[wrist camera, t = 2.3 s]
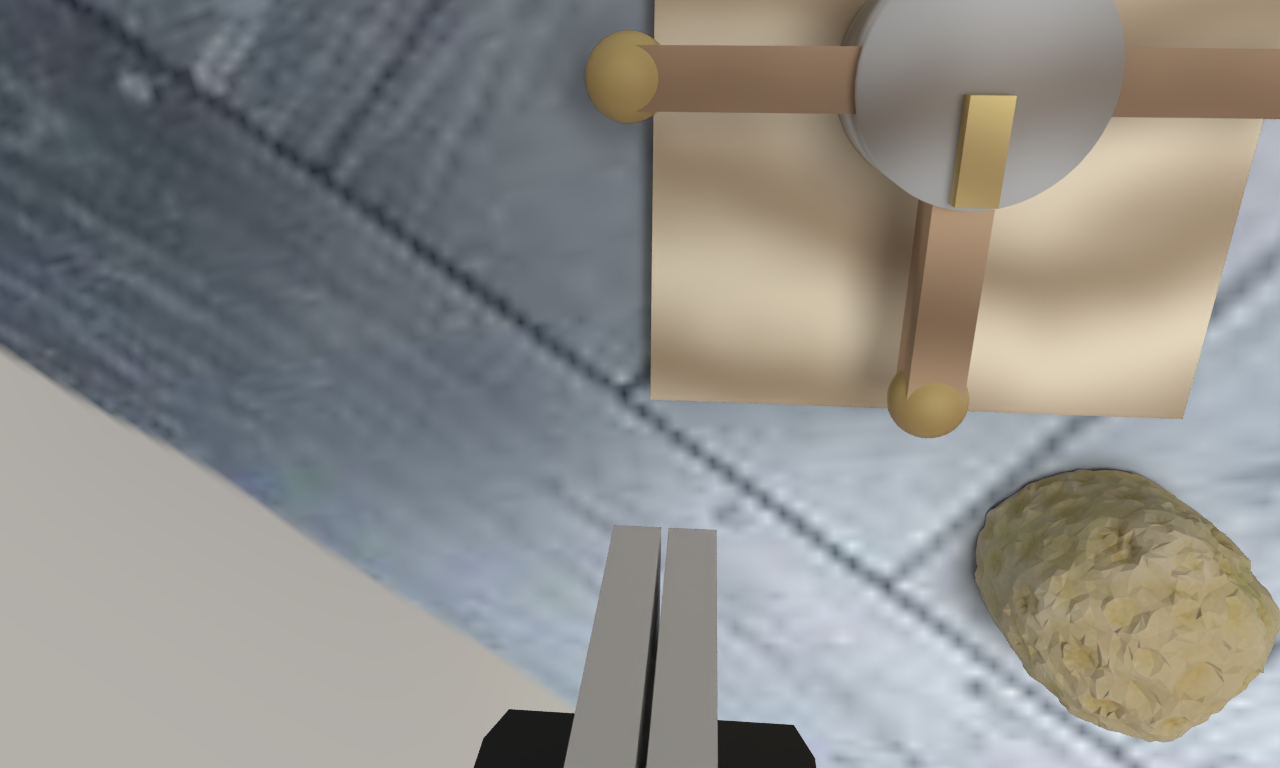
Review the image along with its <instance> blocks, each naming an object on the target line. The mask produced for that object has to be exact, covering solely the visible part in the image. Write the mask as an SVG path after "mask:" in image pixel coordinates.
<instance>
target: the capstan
mask: <svg viewBox="0 0 1280 768" xmlns="http://www.w3.org/2000/svg"><path fill="white" fill-rule="evenodd" d="M585 83H586V88H587V92H588V95H589V97H590V99H591V101H592V102H593V104H594V105H595V107H596V108H597V109H598V110H599V111H600V112H601V113H602V114H604V115H605V116H606V117H608V118H610V119H612V120H614V121H617V122H622V123H636V122H640V121H643V120H646V119H648V118H650V117H651V116H653V115H654V114H656V113H657V112H718V113H804V114H838V116H839V119H840V122H841V125H842V127H843V130H844V132H845V134H846V135H847V137H848V139H849V141H850V143H851V144H852V145H853V147H854V148H855V149H856V151H857V152H858V153H859V154H860V155H861V156H862V157H863V158H864V159H865V160H866V161H867V162H868V163H869V164H871V165H872V166H873V167H875V168H876V169H877V170H878V171H880V172H881V173H882V174H884V175H885V176H886V177H888V178H889V179H890V180H892V181H893V182H894V183H895V184H897V185H898V186H899V187H901V188H902V189H904V190H905V191H906V192H908V193H909V194H911V195H912V196H914V197H916V198H918V199H919V200H918V208H917V216H916V223H915V231H914V239H913V247H912V255H911V263H910V270H909V278H908V286H907V294H906V302H905V309H904V317H903V325H902V333H901V341H900V349H899V356H898V364H897V372H896V375H895V376H894V378H893V379H892V381H891V383H890V385H889V388H888V392H887V406H888V410H889V413H890V415H891V417H892V419H893V420H894V422H895V423H896V424H897V425H898V426H899V427H900V428H901V429H902V430H904V431H905V432H907V433H909V434H911V435H914V436H916V437H921V438H935V437H940V436H943V435H946V434H947V433H949V432H951V431H953V430H954V429H955V428H956V427H957V426H958V425H959V424H960V423H961V422H962V420H963V419H964V417H965V415H966V413H967V410H968V406H969V393H968V388H967V386H966V385H967V379H968V373H969V367H970V361H971V354H972V348H973V342H974V336H975V330H976V324H977V317H978V311H979V305H980V299H981V293H982V287H983V280H984V274H985V268H986V262H987V256H988V250H989V243H990V237H991V231H992V225H993V219H994V213H995V209H1000V208H1004V207H1008V206H1011V205H1014V204H1018V203H1021V202H1023V201H1025V200H1028V199H1030V198H1032V197H1035V196H1036V195H1038V194H1040V193H1042V192H1043V191H1045V190H1047V189H1049V188H1050V187H1052V186H1053V185H1055V184H1056V183H1057V182H1059V181H1060V180H1061V179H1063V178H1064V177H1066V176H1067V175H1068V174H1069V173H1070V172H1071V171H1072V170H1073V169H1074V168H1075V167H1076V166H1078V165H1079V164H1080V162H1081V161H1082V160H1083V159H1084V158H1085V157H1086V156H1087V154H1088V153H1089V152H1090V151H1091V150H1092V148H1093V147H1094V145H1095V144H1096V143H1097V141H1098V140H1099V138H1100V137H1101V135H1102V134H1103V132H1104V130H1105V128H1106V126H1107V124H1108V123H1109V121H1110V119H1111V117H1149V118H1235V119H1280V49H1248V48H1125V42H1124V34H1123V28H1122V24H1121V21H1120V17H1119V13H1118V11H1117V9H1116V6H1115V4H1114V2H1113V0H867V2H866V3H865V4H864V5H863V6H862V8H861V9H860V10H859V12H858V13H857V15H856V16H855V17H854V19H853V21H852V23H851V25H850V26H849V28H848V30H847V32H846V34H845V37H844V39H843V42H842V44H841V46H730V45H660V44H659V43H658V42H657V41H656V40H655V39H653V38H652V37H651V36H649V35H647V34H645V33H642V32H639V31H633V30H624V31H619V32H615V33H613V34H610V35H609V36H607V37H605V38H604V39H603V40H601V41H600V42H599V43H598V44H597V45H596V47H595V48H594V49H593V51H592V52H591V54H590V56H589V58H588V61H587V65H586V70H585Z"/></svg>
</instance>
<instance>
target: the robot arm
mask: <svg viewBox="0 0 1280 768" xmlns="http://www.w3.org/2000/svg"><path fill="white" fill-rule="evenodd" d="M660 567H661V527H641V526H620V525H614V528H613V533H612V537H611V542H610V547H609V552H608V557H607V561H606V566H605V571H604V576H603V581H602V585H601V590H600V595H599V600H598V605H597V610H596V614H595V619H594V624H593V629H592V634H591V638H590V643H589V648H588V653H587V658H586V662H585V667H584V672H583V677H582V682H581V687H580V691H579V696H578V701H577V706H576V711H575V714H574V713H559V712H543V711H528V710H527V711H526V710H512V709H509V710H508V711H507V712H506V713H505V715H504V716H503V717H502V718H501V719H500V721H498V723H497V724H496V725H495V726H494V727H493V728H492V729H491V731H490V732H489V733H488V734H487V735H486V736H485V737H484V739H483V742H482V745H481V747H480V750H479V753H478V757H477V759H476V762H475V765H474V768H816V763H815V758H814V756H813V755H812V753H811V751H810V750H809V748H808V747H807V745H806V744H805V742H804V740H803V739H802V737H801V736H800V734H799V733H798V731H797V729H796V728H795V726H794V725H785V724H769V723H754V722H738V721H722V720H717V543H716V530H704V529H683V528H669V531H668V542H667V553H666V563H665V574H664V585H663V596H662V606H661V617H660ZM659 626H660V628H659Z"/></svg>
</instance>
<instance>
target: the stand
mask: <svg viewBox="0 0 1280 768" xmlns="http://www.w3.org/2000/svg"><path fill="white" fill-rule="evenodd" d="M866 2H867V0H655V23H654V39H655V40H656V41H657V42H658V43H659V44H660V45H730V46H841V44H842V42H843V39H844V37H845V34H846V32H847V30H848V28H849V26H850V25H851V23H852V21H853V19H854V17H855V16H856V15H857V13H858V12H859V10H860V9H861V8H862V6H863V5H864V4H865V3H866ZM1113 2H1114V4H1115V6H1116V9H1117V11H1118V13H1119V17H1120V21H1121V24H1122V28H1123V34H1124V42H1125V48H1248V49H1280V0H1113ZM1263 120H1264V119H1235V118H1149V117H1111V119H1110V121H1109V123H1108V124H1107V126H1106V128H1105V130H1104V132H1103V134H1102V135H1101V137H1100V138H1099V140H1098V141H1097V143H1096V144H1095V145H1094V147H1093V148H1092V150H1091V151H1090V152H1089V153H1088V154H1087V156H1086V157H1085V158H1084V159H1083V160H1082V161H1081V162H1080V164H1079V165H1078V166H1076V167H1075V168H1074V169H1073V170H1072V171H1071V172H1070V173H1069V174H1068V175H1067V176H1066V177H1064V178H1063V179H1061V180H1060V181H1059V182H1057V183H1056V184H1055V185H1053V186H1052V187H1050V188H1049V189H1047V190H1045V191H1043V192H1042V193H1040V194H1038V195H1036V196H1035V197H1032V198H1030V199H1028V200H1025V201H1023V202H1021V203H1018V204H1014V205H1011V206H1008V207H1004V208H1000V209H995V213H994V219H993V225H992V231H991V237H990V243H989V250H988V256H987V262H986V268H985V274H984V280H983V287H982V293H981V299H980V305H979V311H978V317H977V324H976V330H975V336H974V342H973V348H972V354H971V361H970V367H969V373H968V379H967V385H966V386H967V388H968V393H969V406H968V410H967V411H978V412H1005V413H1032V414H1060V415H1087V416H1114V417H1141V418H1169V419H1183V416H1184V412H1185V409H1186V405H1187V401H1188V398H1189V394H1190V390H1191V386H1192V383H1193V379H1194V375H1195V372H1196V368H1197V364H1198V361H1199V357H1200V353H1201V349H1202V346H1203V342H1204V338H1205V335H1206V331H1207V327H1208V323H1209V320H1210V316H1211V312H1212V309H1213V305H1214V301H1215V298H1216V294H1217V290H1218V286H1219V283H1220V279H1221V275H1222V272H1223V268H1224V264H1225V261H1226V257H1227V253H1228V249H1229V246H1230V242H1231V238H1232V235H1233V231H1234V227H1235V223H1236V220H1237V216H1238V212H1239V209H1240V205H1241V201H1242V198H1243V194H1244V190H1245V186H1246V183H1247V179H1248V175H1249V172H1250V168H1251V164H1252V161H1253V157H1254V153H1255V149H1256V146H1257V142H1258V138H1259V135H1260V131H1261V127H1262V123H1263ZM918 200H919V199H918V198H916V197H914V196H912V195H911V194H909V193H908V192H906V191H905V190H904V189H902V188H901V187H899V186H898V185H897V184H895V183H894V182H893V181H892V180H890V179H889V178H888V177H886V176H885V175H884V174H882V173H881V172H880V171H878V170H877V169H876V168H875V167H873V166H872V165H871V164H869V163H868V162H867V161H866V160H865V159H864V158H863V157H862V156H861V155H860V154H859V153H858V152H857V151H856V149H855V148H854V147H853V145H852V144H851V143H850V141H849V139H848V137H847V135H846V134H845V132H844V130H843V127H842V125H841V122H840V119H839V116H838V114H804V113H718V112H657V113H656V114H654V116H653V208H652V301H651V393H650V399H651V400H678V401H706V402H733V403H760V404H787V405H815V406H842V407H869V408H888V406H887V392H888V388H889V385H890V383H891V381H892V379H893V378H894V376H895V375H896V372H897V364H898V356H899V349H900V341H901V333H902V325H903V317H904V309H905V302H906V294H907V286H908V278H909V270H910V263H911V255H912V247H913V239H914V231H915V223H916V216H917V208H918Z"/></svg>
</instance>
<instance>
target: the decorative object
mask: <svg viewBox="0 0 1280 768" xmlns="http://www.w3.org/2000/svg"><path fill="white" fill-rule="evenodd" d="M975 555H976V564H977V569H976V572H975V574H974V575H975V578H976V579H975V582H976V583H977V585H978V587H979V590H980V593H981V596H982V599H983V601H984V602H985V605H986V607H987V609H988V611H989V613H990V615H991V616H992V618H993V621H994V622H995V624H996V625H997V627H998V628H999V629H1000V630H1001V631H1002V633H1003V634H1004V636H1005V637H1006V639H1007V641H1008V642H1009V644H1010V646H1011V648H1012V649H1013V650H1014V651H1015V653H1016V654H1017V656H1018V657H1019V659H1020V660H1021V661H1022V664H1023V667H1024V668H1025V670H1026V671H1027V673H1028V674H1029V676H1031V677H1032V678H1034V679H1035V680H1037V681H1038V682H1040V683H1041V684H1043V685H1044V686H1045V687H1046V688H1047V689H1048V690H1049V691H1050V692H1051V693H1053V694H1054V695H1055V696H1056V697H1058V699H1059V701H1060V703H1061V704H1062V705H1063V706H1065V707H1066V708H1067V710H1068V712H1069V713H1071V714H1073V715H1074V716H1076V717H1078V718H1080V719H1083V720H1085V721H1088V722H1092V723H1094V724H1095V725H1097V726H1099V727H1102V728H1104V729H1106V730H1110V731H1115V732H1120V733H1123V734H1126V735H1129V736H1132V737H1137V738H1141V739H1143V740H1145V741H1148V742H1152V741H1159V742H1170V741H1173V740H1175V739H1177V738H1179V737H1181V736H1182V735H1183V734H1185V733H1186V732H1187V731H1188V730H1189V729H1190V728H1192V727H1194V726H1196V725H1199V724H1201V723H1203V722H1205V721H1207V720H1208V719H1209V717H1210V715H1211V714H1214V713H1217V712H1220V711H1221V710H1222V709H1223V708H1224V706H1225V705H1226V704H1227V702H1229V701H1230V700H1231V699H1232V698H1234V697H1235V696H1237V695H1238V694H1240V693H1241V692H1242V691H1244V690H1245V689H1246V688H1247V686H1248V684H1249V683H1250V682H1251V681H1252V680H1253V679H1254V678H1255V677H1256V676H1258V674H1259V673H1260V672H1263V673H1264V668H1263V665H1265V664H1266V663H1267V657H1268V655H1269V653H1270V652H1271V650H1272V647H1273V644H1274V641H1275V639H1276V636H1277V634H1278V633H1279V630H1280V610H1279V608H1278V606H1277V605H1276V603H1275V602H1274V600H1273V599H1272V597H1271V594H1270V593H1269V592H1268V590H1267V589H1266V588H1265V587H1264V586H1263V585H1261V584H1260V583H1259V582H1258V580H1257V579H1256V577H1255V576H1254V575H1253V574H1252V572H1251V561H1250V560H1249V559H1248V558H1247V557H1246V556H1245V555H1244V553H1243V552H1242V551H1241V550H1240V549H1239V548H1238V547H1237V546H1236V544H1235V543H1234V542H1233V541H1232V540H1231V539H1230V538H1228V537H1227V536H1226V535H1225V534H1224V533H1223V532H1221V531H1219V530H1218V529H1217V528H1216V527H1215V526H1214V525H1213V524H1212V523H1211V522H1210V521H1208V520H1207V519H1205V518H1204V517H1203V516H1201V515H1200V514H1199V513H1198V512H1196V511H1195V510H1194V509H1192V508H1191V507H1189V506H1188V505H1186V504H1185V503H1183V502H1182V501H1180V500H1179V499H1177V498H1176V497H1175V496H1174V495H1172V494H1171V493H1169V492H1168V491H1166V490H1165V489H1164V488H1163V487H1161V486H1160V485H1158V484H1156V483H1154V482H1153V481H1151V480H1149V479H1148V478H1146V477H1144V476H1141V475H1139V474H1136V473H1135V474H1131V473H1127V472H1123V471H1118V470H1097V471H1092V470H1088V469H1077V470H1075V471H1074V472H1065V473H1060V474H1057V475H1054V476H1051V477H1047V478H1043V479H1040V480H1039V481H1037V482H1034V483H1030V484H1027V485H1026V486H1025V487H1024V488H1022V489H1021V490H1020V491H1019V492H1017V493H1015V494H1014V495H1012V496H1010V497H1009V498H1007V499H1005V500H1004V501H1003V502H1002V503H1000V504H999V505H998V506H997V507H995V508H993V509H991V510H990V511H989V512H988V513H987V514H986V522H985V527H984V528H983V529H982V530H981V531H980V532H979V535H978V539H977V546H976V553H975Z"/></svg>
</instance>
